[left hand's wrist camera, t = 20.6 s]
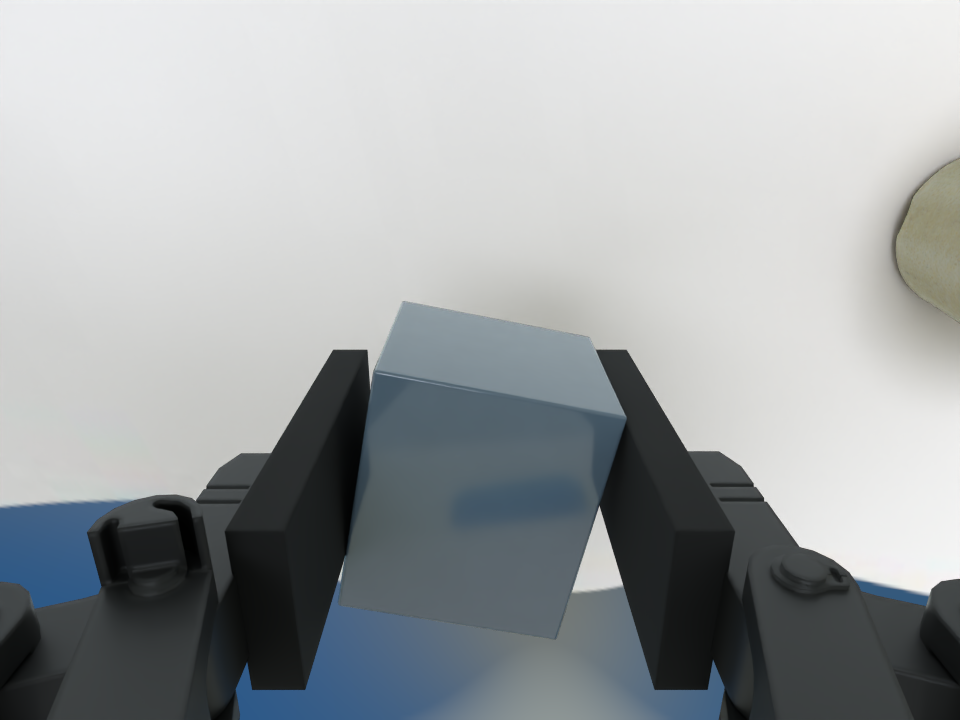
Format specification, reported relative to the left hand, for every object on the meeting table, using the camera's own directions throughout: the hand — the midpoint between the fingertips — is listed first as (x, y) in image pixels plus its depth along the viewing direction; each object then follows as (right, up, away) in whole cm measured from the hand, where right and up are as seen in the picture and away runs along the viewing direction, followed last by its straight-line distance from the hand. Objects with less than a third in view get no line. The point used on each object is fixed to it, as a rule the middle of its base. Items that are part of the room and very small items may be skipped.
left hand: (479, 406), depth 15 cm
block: (0, 0, +1) cm, 1 cm away
